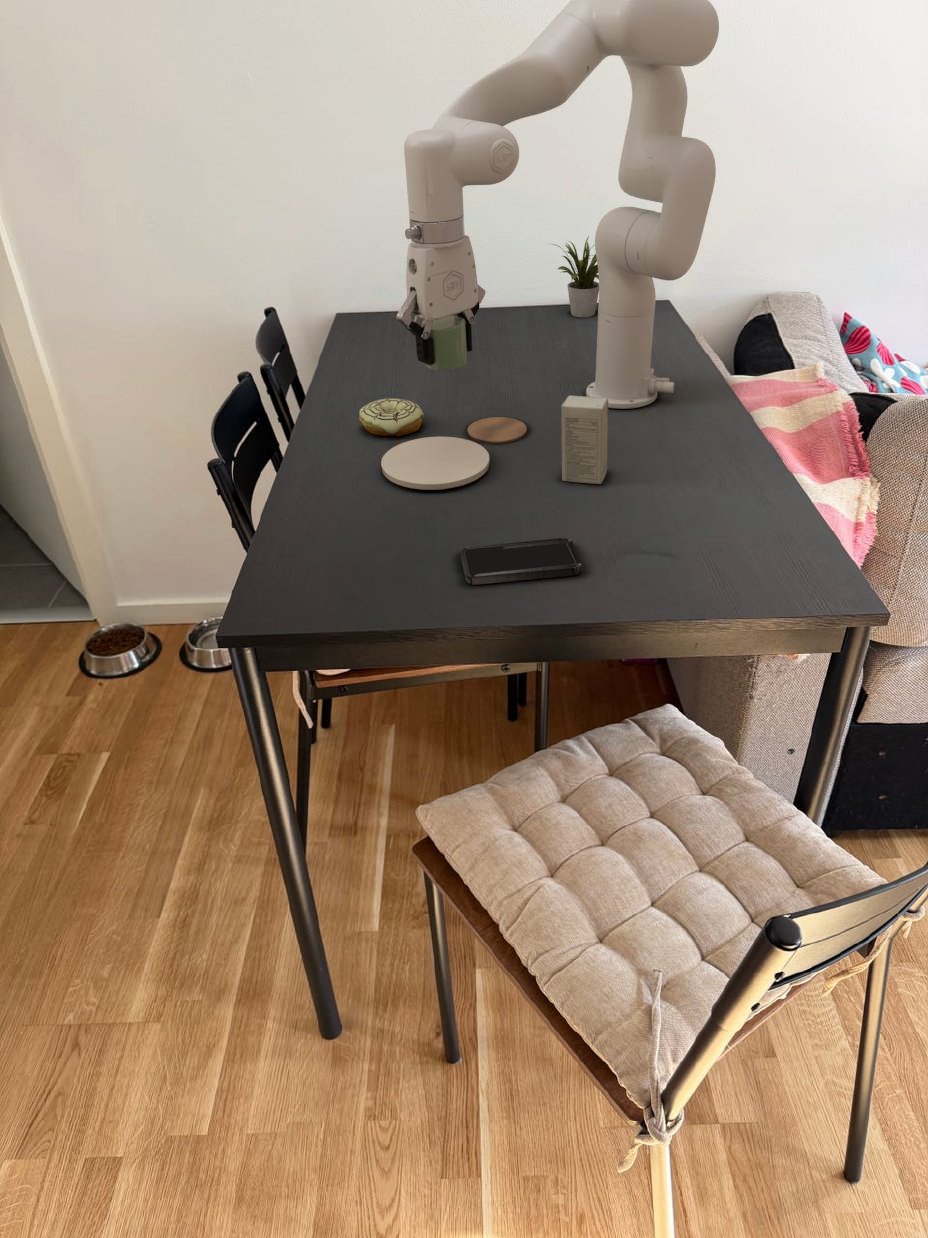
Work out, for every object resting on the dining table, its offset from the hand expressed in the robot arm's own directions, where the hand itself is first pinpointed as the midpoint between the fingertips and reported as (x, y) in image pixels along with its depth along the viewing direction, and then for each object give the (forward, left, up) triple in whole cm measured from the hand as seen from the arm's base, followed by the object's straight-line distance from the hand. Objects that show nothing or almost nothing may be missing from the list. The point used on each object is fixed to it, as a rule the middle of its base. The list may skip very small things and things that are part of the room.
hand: (445, 354), depth 142 cm
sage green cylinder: (0, 0, -1) cm, 1 cm away
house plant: (-2, -76, -17) cm, 78 cm away
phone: (-20, +28, -17) cm, 38 cm away
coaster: (-4, -12, -17) cm, 22 cm away
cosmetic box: (-22, +1, -17) cm, 28 cm away
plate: (+1, +4, -17) cm, 18 cm away
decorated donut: (+14, -9, -17) cm, 24 cm away
